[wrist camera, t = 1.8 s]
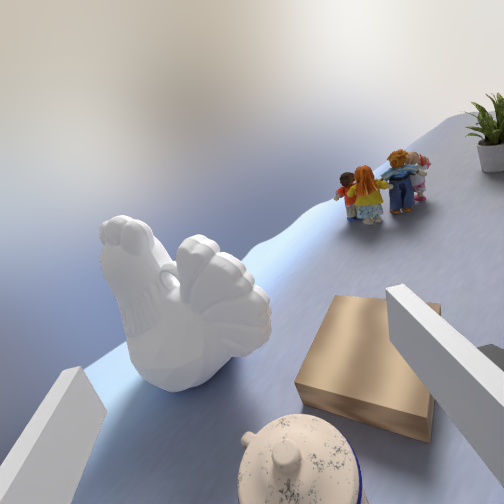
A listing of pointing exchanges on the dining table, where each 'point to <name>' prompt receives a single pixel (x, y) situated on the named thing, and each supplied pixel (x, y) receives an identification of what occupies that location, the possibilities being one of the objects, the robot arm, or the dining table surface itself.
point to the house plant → (491, 137)
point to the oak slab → (364, 371)
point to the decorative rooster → (181, 304)
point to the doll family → (384, 187)
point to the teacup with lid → (299, 464)
